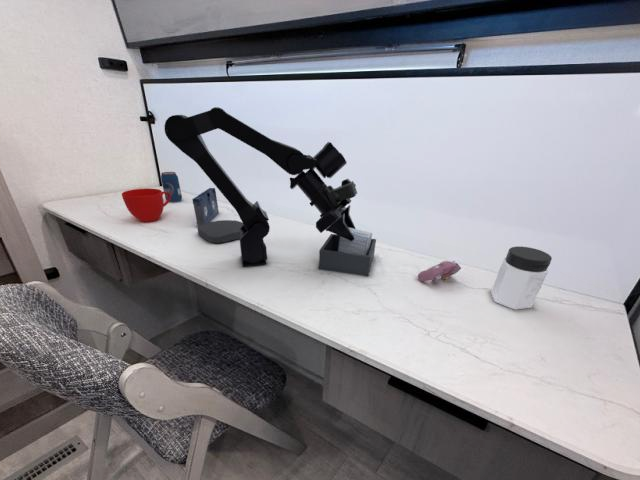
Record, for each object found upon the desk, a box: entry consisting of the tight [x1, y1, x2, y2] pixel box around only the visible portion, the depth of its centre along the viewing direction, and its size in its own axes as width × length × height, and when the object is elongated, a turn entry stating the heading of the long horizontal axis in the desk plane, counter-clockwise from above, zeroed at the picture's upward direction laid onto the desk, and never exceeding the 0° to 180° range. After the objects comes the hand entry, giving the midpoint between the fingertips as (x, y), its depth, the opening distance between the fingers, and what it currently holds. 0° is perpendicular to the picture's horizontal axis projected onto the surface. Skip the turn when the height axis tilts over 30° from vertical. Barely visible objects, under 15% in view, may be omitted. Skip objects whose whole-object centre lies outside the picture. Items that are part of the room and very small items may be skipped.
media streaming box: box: [197, 219, 244, 244], centre depth 103 cm, size 15×15×3 cm
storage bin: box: [318, 233, 377, 277], centre depth 86 cm, size 14×14×6 cm
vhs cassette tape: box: [192, 187, 220, 228], centre depth 114 cm, size 18×3×10 cm, turn 178°
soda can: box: [160, 171, 183, 203], centre depth 136 cm, size 7×7×12 cm
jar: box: [490, 246, 553, 310], centre depth 69 cm, size 9×8×12 cm
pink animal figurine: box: [417, 260, 462, 284], centre depth 78 cm, size 10×5×7 cm, turn 118°
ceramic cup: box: [121, 187, 170, 223], centre depth 114 cm, size 13×17×10 cm
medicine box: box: [338, 227, 373, 256], centre depth 84 cm, size 8×4×9 cm, turn 69°
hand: (354, 236), depth 83 cm, fingers closed on medicine box, 5 cm apart
